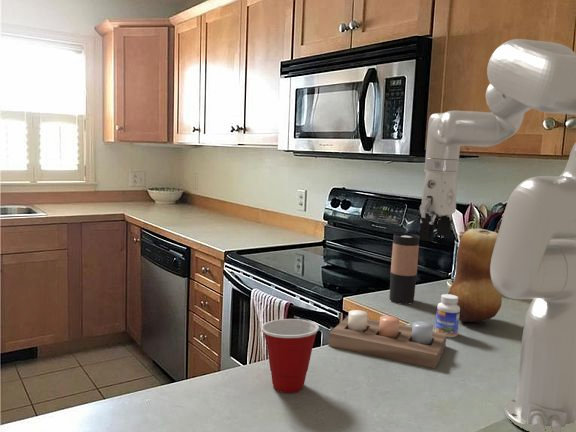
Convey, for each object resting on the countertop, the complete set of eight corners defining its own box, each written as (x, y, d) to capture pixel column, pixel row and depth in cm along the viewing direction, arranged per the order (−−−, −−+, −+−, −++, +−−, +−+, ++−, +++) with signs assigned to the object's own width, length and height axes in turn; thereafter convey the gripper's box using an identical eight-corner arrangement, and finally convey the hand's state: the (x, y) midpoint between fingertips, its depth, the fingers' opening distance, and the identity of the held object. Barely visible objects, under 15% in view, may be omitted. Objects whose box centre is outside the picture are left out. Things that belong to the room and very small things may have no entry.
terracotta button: (395, 340, 116) (396, 323, 115) (376, 336, 118) (377, 319, 117) (399, 334, 120) (401, 317, 119) (381, 330, 122) (382, 314, 121)
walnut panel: (436, 368, 108) (437, 354, 108) (328, 345, 118) (329, 333, 117) (445, 346, 121) (446, 333, 120) (347, 327, 130) (348, 315, 130)
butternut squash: (492, 334, 130) (502, 236, 126) (439, 322, 137) (448, 229, 134) (504, 320, 141) (513, 230, 138) (455, 309, 149) (462, 224, 145)
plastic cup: (291, 368, 105) (294, 311, 103) (327, 389, 97) (331, 328, 95) (247, 381, 98) (249, 321, 97) (282, 405, 90) (285, 340, 88)
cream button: (363, 334, 119) (364, 317, 119) (345, 330, 121) (346, 314, 120) (368, 328, 123) (369, 312, 122) (351, 324, 125) (352, 308, 124)
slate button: (429, 347, 113) (431, 329, 112) (409, 343, 115) (410, 325, 114) (432, 340, 117) (434, 323, 116) (413, 336, 119) (414, 320, 118)
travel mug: (383, 298, 157) (388, 233, 154) (403, 296, 160) (408, 232, 157) (398, 305, 150) (404, 238, 147) (419, 303, 153) (425, 237, 151)
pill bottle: (432, 334, 128) (436, 296, 126) (437, 328, 132) (440, 291, 131) (455, 339, 125) (459, 300, 124) (459, 332, 130) (462, 295, 129)
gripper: (441, 168, 112) (434, 245, 115) (470, 167, 125) (463, 236, 128) (410, 166, 117) (404, 240, 119) (440, 165, 130) (434, 231, 133)
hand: (434, 238), depth 124 cm, fingers open, 9 cm apart
